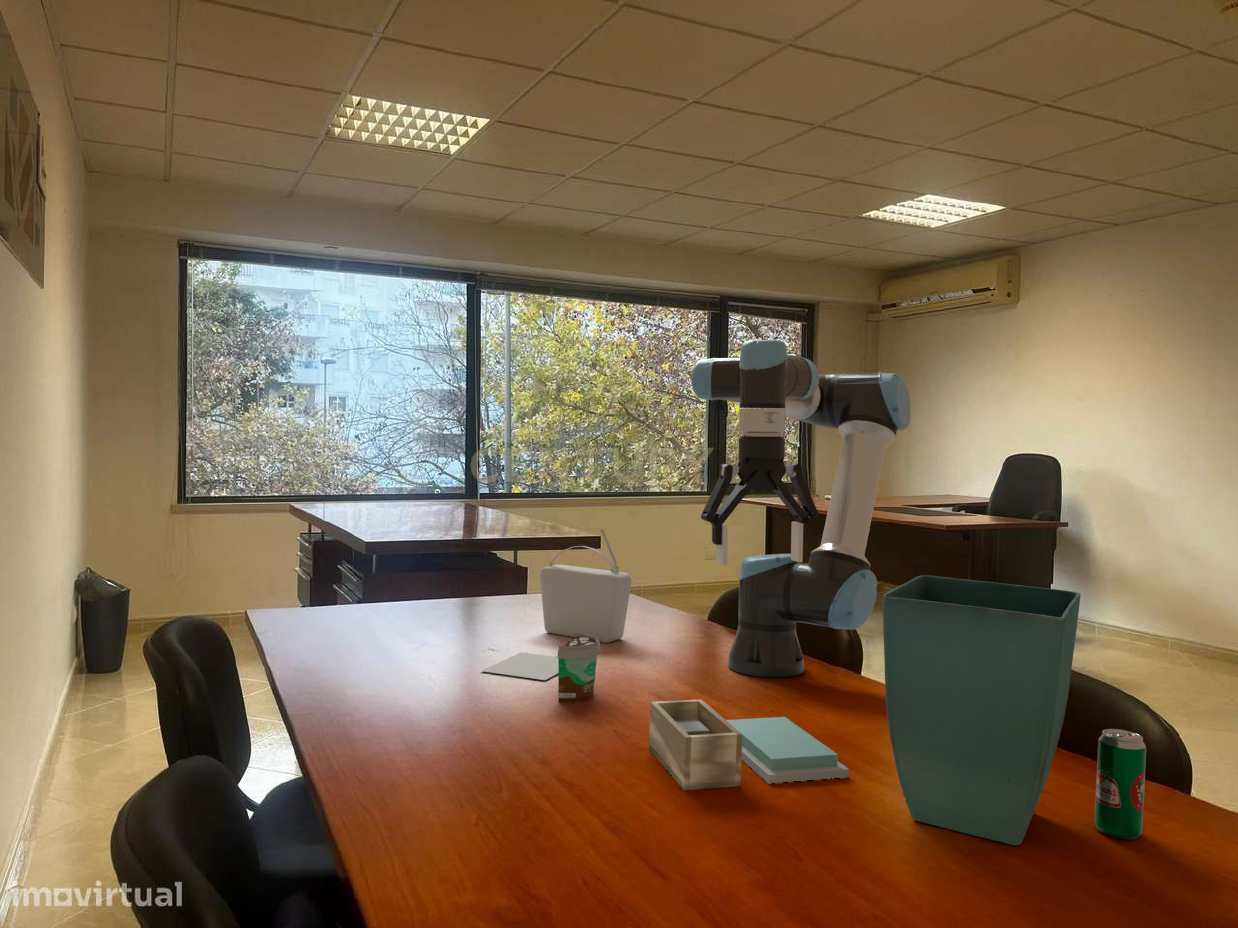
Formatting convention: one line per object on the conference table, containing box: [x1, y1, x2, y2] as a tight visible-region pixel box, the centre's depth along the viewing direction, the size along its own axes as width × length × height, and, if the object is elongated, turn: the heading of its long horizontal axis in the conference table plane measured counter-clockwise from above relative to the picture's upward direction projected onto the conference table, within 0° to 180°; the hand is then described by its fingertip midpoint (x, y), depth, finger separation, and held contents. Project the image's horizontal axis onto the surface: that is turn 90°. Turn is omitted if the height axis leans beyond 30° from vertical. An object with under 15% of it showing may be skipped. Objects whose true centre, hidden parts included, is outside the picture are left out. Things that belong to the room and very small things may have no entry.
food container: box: [556, 632, 602, 703], centre depth 159 cm, size 12×6×10 cm, turn 168°
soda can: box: [1094, 728, 1147, 841], centre depth 109 cm, size 5×5×12 cm
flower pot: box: [881, 574, 1081, 846], centre depth 111 cm, size 20×20×28 cm
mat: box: [742, 746, 850, 785], centre depth 132 cm, size 12×20×1 cm, turn 15°
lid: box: [725, 716, 839, 771], centre depth 132 cm, size 10×17×2 cm, turn 15°
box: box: [648, 698, 743, 791], centre depth 127 cm, size 8×16×7 cm, turn 15°
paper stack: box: [480, 651, 558, 681], centre depth 184 cm, size 23×25×1 cm
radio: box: [539, 528, 632, 644], centre depth 207 cm, size 22×8×25 cm, turn 58°
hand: (759, 562), depth 149 cm, fingers open, 13 cm apart
